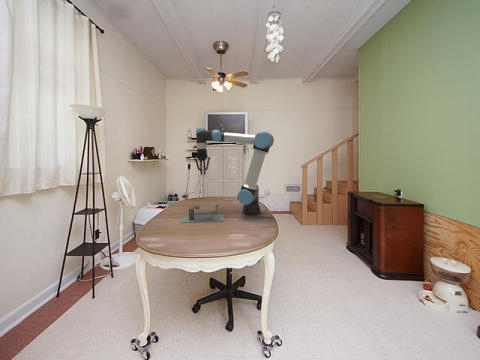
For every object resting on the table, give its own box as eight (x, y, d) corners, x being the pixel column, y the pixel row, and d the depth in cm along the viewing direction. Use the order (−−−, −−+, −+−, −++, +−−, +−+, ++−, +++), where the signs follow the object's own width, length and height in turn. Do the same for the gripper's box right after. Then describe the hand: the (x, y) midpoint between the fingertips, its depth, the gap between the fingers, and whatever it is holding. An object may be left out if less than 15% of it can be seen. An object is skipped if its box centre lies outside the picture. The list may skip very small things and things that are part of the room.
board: (223, 215, 161) (223, 215, 161) (223, 221, 148) (223, 220, 148) (183, 217, 158) (183, 216, 158) (180, 223, 145) (180, 222, 145)
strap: (217, 209, 155) (217, 208, 155) (217, 211, 151) (217, 209, 151) (195, 208, 154) (195, 207, 153) (194, 210, 150) (194, 208, 149)
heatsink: (218, 215, 159) (218, 204, 158) (218, 220, 148) (218, 208, 147) (196, 216, 158) (195, 204, 157) (194, 221, 147) (193, 208, 146)
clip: (200, 217, 156) (200, 205, 155) (199, 219, 150) (199, 207, 149) (190, 217, 155) (190, 205, 154) (189, 220, 149) (188, 207, 148)
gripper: (210, 148, 166) (211, 178, 169) (193, 149, 165) (195, 178, 167) (210, 148, 159) (211, 179, 162) (192, 148, 157) (194, 179, 160)
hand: (203, 178), depth 165 cm, fingers closed
